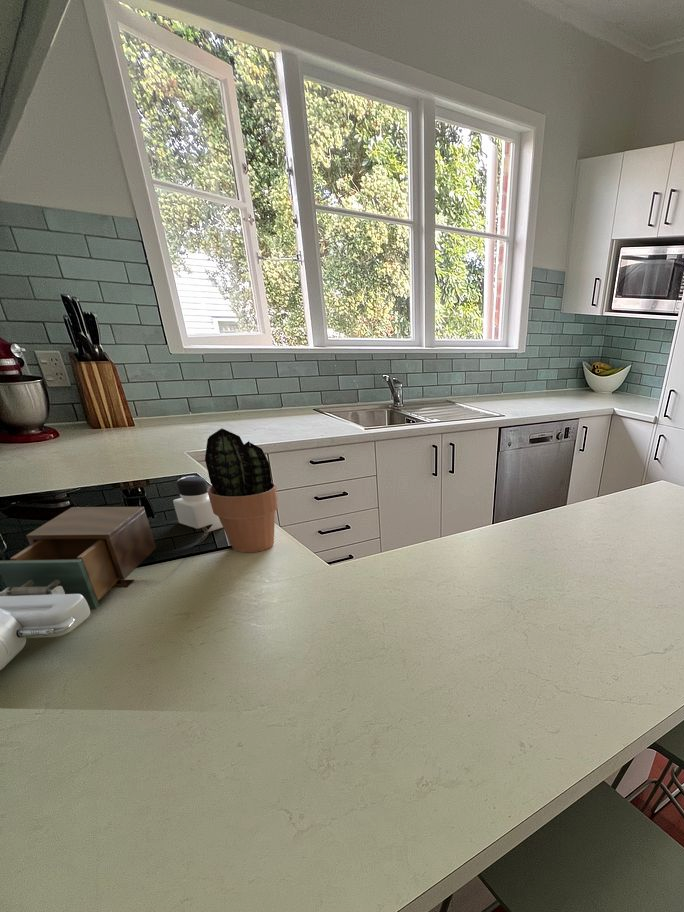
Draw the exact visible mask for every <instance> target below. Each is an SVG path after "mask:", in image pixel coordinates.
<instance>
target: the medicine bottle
mask: <svg viewBox="0 0 684 912" xmlns="http://www.w3.org/2000/svg"><path fill="white" fill-rule="evenodd" d="M176 485H177V488H178V492H179V496H180V497H179V498H176V499H173V500H172V503H173V507H174V510H175V513H176V518H177V521H178V523H179V524H181V525H184V526H188V527H191V528H194V529H196V530H197V529H198V530H199V529H201V528H205V527H208V526H210V527H209V528H208V530H207V531H205V534H208V533H211V532H214V531H216V530H220V529H224V528H223V526H222V524H221V522H220V519H219V517H218V516H217V515H215V514H214V513H213V509H212V506H211V502H210V499H209V495H208V492H207V489H208V488H209V486H208V484H207V480H206V478H205V477H202V476H200V475H187V476H183V477H181V478H179V479H177V481H176Z"/></svg>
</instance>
